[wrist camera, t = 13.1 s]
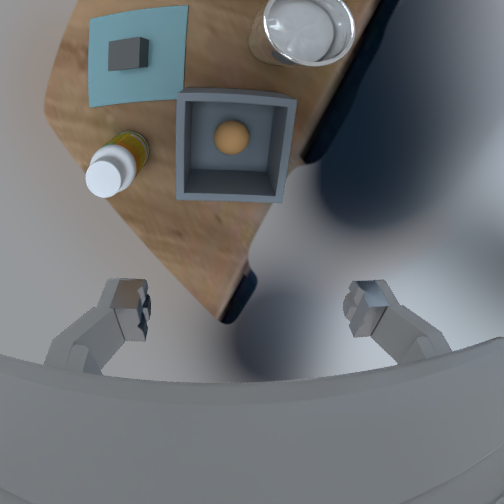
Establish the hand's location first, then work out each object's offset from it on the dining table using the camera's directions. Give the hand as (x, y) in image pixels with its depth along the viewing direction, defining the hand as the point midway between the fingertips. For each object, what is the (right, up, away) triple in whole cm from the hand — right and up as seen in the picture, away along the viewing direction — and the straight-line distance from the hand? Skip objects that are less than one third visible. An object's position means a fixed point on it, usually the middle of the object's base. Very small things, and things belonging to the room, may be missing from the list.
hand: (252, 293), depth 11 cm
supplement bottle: (-15, +14, +22) cm, 30 cm away
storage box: (-3, +16, +22) cm, 27 cm away
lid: (-14, +25, +15) cm, 32 cm away
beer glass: (+2, +26, +15) cm, 30 cm away
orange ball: (-2, +14, +20) cm, 24 cm away
